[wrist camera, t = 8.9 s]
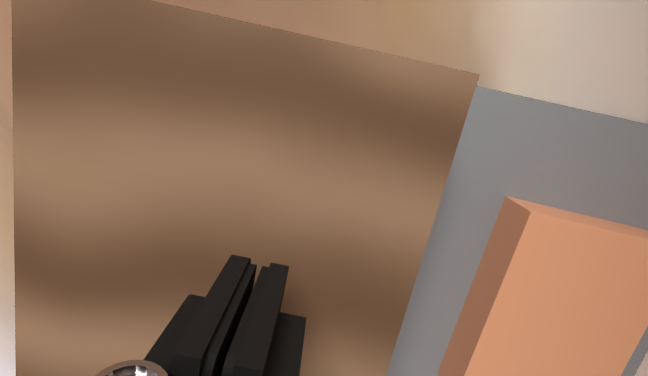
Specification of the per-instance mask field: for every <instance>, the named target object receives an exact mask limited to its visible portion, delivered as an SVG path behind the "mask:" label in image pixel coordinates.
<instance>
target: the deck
mask: <svg viewBox="0 0 648 376" xmlns="http://www.w3.org/2000/svg"><path fill="white" fill-rule="evenodd" d="M479 75H480V74H475V73H471V72H466V71H462V70H457V69H453V68H448V67H444V66H440V65H435V64H431V63H426V62H422V61H417V60H413V59H409V58H404V57H400V56H395V55H391V54H386V53H382V52H377V51H373V50H369V49H364V48H360V47H355V46H351V45H346V44H342V43H337V42H333V41H329V40H324V39H320V38H315V37H311V36H306V35H302V34H298V33H293V32H289V31H284V30H280V29H275V28H271V27H266V26H262V25H258V24H253V23H249V22H244V21H240V20H235V19H231V18H227V17H222V16H218V15H213V14H209V13H204V12H200V11H195V10H191V9H187V8H182V7H178V6H173V5H169V4H164V3H160V2H155V1H151V0H12V78H13V165H14V251H15V338H16V376H95V375H96V374H98V373H99V372H100V371H102V370H103V369H105V368H107V367H109V366H111V365H113V364H115V363H119V362H123V361H127V360H144V358H145V357H146V355H147V354H148V352H149V351H150V349H151V348H152V347H153V345H154V344H155V342H156V341H157V339H158V338H159V336H160V335H161V334H162V332H163V331H164V329H165V328H166V326H167V325H168V324H169V322H170V321H171V319H172V318H173V316H174V315H175V313H176V312H177V311H178V309H179V308H180V306H181V305H182V303H183V302H184V300H185V299H186V298H187V297H188V295H190V294H193V295H198V296H203V297H206V295H207V294H208V292H209V290H210V289H211V287H212V285H213V284H214V282H215V281H216V279H217V277H218V276H219V274H220V272H221V271H222V269H223V267H224V266H225V264H226V262H227V261H228V259H229V257H230V256H231V255H237V256H242V257H247V258H251V264H256V265H257V269H256V275H255V280H254V285H255V283H256V280H257V278H258V275H259V273H260V270H261V268H262V266H266V267H269V266H270V263H271V262H272V263H276V264H281V265H286V266H289V271H288V276H287V281H286V286H285V291H284V295H283V300H282V305H281V310H280V312H282V313H287V314H292V315H297V316H302V317H306V326H305V334H304V342H303V350H302V359H301V367H300V375H299V376H386V374H387V371H388V367H389V364H390V361H391V358H392V355H393V351H394V348H395V345H396V342H397V338H398V335H399V332H400V329H401V326H402V322H403V319H404V316H405V313H406V310H407V306H408V303H409V300H410V297H411V293H412V290H413V287H414V284H415V281H416V277H417V274H418V271H419V268H420V265H421V261H422V258H423V255H424V252H425V248H426V245H427V242H428V239H429V236H430V232H431V229H432V226H433V223H434V220H435V216H436V213H437V210H438V207H439V204H440V200H441V197H442V194H443V191H444V187H445V184H446V181H447V178H448V175H449V171H450V168H451V165H452V162H453V159H454V155H455V152H456V149H457V146H458V142H459V139H460V136H461V133H462V130H463V126H464V123H465V120H466V117H467V114H468V110H469V107H470V104H471V101H472V97H473V94H474V91H475V88H476V85H477V81H478V78H479ZM253 288H254V286H253Z"/></svg>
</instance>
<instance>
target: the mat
mask: <svg viewBox="0 0 648 376" xmlns="http://www.w3.org/2000/svg"><path fill="white" fill-rule="evenodd" d="M505 196H507V197H512V198H516V199H520V200H524V201H528V202H533V203H537V204H541V205H545V206H549V207H554V208H558V209H562V210H566V211H570V212H574V213H579V214H583V215H587V216H591V217H595V218H600V219H604V220H608V221H612V222H616V223H620V224H625V225H629V226H633V227H637V228H641V229H645V230H647V231H648V124H643V123H639V122H634V121H630V120H626V119H621V118H617V117H612V116H608V115H603V114H599V113H594V112H590V111H585V110H581V109H576V108H572V107H568V106H563V105H559V104H554V103H550V102H545V101H541V100H536V99H532V98H527V97H523V96H518V95H514V94H510V93H505V92H501V91H496V90H492V89H487V88H483V87H478V86H476V88H475V91H474V94H473V97H472V101H471V104H470V107H469V110H468V114H467V117H466V120H465V123H464V126H463V130H462V133H461V136H460V139H459V142H458V146H457V149H456V152H455V155H454V159H453V162H452V165H451V168H450V171H449V175H448V178H447V181H446V184H445V187H444V191H443V194H442V197H441V200H440V204H439V207H438V210H437V213H436V216H435V220H434V223H433V226H432V229H431V232H430V236H429V239H428V242H427V245H426V248H425V252H424V255H423V258H422V261H421V265H420V268H419V271H418V274H417V277H416V281H415V284H414V287H413V290H412V293H411V297H410V300H409V303H408V306H407V310H406V313H405V316H404V319H403V322H402V326H401V329H400V332H399V335H398V338H397V342H396V345H395V348H394V351H393V355H392V358H391V361H390V364H389V367H388V371H387V374H386V376H437V373H438V370H439V368H440V365H441V362H442V360H443V357H444V355H445V352H446V349H447V347H448V344H449V342H450V339H451V336H452V334H453V331H454V329H455V326H456V323H457V321H458V318H459V316H460V313H461V310H462V308H463V305H464V303H465V300H466V297H467V295H468V292H469V290H470V287H471V284H472V282H473V279H474V277H475V274H476V271H477V269H478V266H479V264H480V261H481V258H482V256H483V253H484V251H485V248H486V245H487V243H488V240H489V238H490V235H491V232H492V230H493V227H494V225H495V222H496V219H497V217H498V214H499V212H500V209H501V206H502V204H503V201H504V199H505ZM647 350H648V326H647V328H646V330H645V332H644V334H643V336H642V337H641V339H640V341H639V343H638V345H637V347H636V348H635V350H634V352H633V354H632V356H631V358H630V359H629V361H628V363H627V365H626V367H625V369H624V370H623V372H622V374H621V376H634V375H635V373H636V371H637V369H638V367H639V365H640V364H641V362H642V360H643V358H644V356H645V354H646V352H647Z"/></svg>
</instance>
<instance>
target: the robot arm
mask: <svg viewBox="0 0 648 376" xmlns="http://www.w3.org/2000/svg"><path fill="white" fill-rule="evenodd" d="M256 269H257V265H256V264H251V258H247V257H242V256H237V255H231V256H230V257H229V259H228V261H227V262H226V264H225V266H224V267H223V269H222V271H221V272H220V274H219V276H218V277H217V279H216V281H215V282H214V284H213V285H212V287H211V289H210V290H209V292H208V294H207V295H206V297H203V296H198V295H193V294H190V295H188V297H187V298H186V299H185V300H184V302H183V303H182V305H181V306H180V308H179V309H178V311H177V312H176V313H175V315H174V316H173V318H172V319H171V321H170V322H169V324H168V325H167V326H166V328H165V329H164V331H163V332H162V334H161V335H160V336H159V338H158V339H157V341H156V342H155V344H154V345H153V347H152V348H151V349H150V351H149V352H148V354H147V355H146V357H145V358H144V360H127V361H123V362H119V363H115V364H113V365H111V366H109V367H107V368H105V369H103V370H102V371H100V372H99V373H98V374H96V375H95V376H299V375H300V367H301V359H302V350H303V342H304V334H305V326H306V317H302V316H297V315H292V314H287V313H282V312H280V310H281V305H282V300H283V295H284V291H285V286H286V281H287V276H288V271H289V266H286V265H281V264H276V263H272V262H271V263H270V266H269V267H266V266H262V268H261V270H260V273H259V275H258V278H257V280H256V283H255V285H254V280H255V275H256ZM253 286H254V288H253Z"/></svg>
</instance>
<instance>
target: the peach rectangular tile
mask: <svg viewBox="0 0 648 376" xmlns="http://www.w3.org/2000/svg"><path fill="white" fill-rule="evenodd" d="M647 326H648V231H647V230H645V229H641V228H637V227H633V226H629V225H625V224H620V223H616V222H612V221H608V220H604V219H600V218H595V217H591V216H587V215H583V214H579V213H574V212H570V211H566V210H562V209H558V208H554V207H549V206H545V205H541V204H537V203H533V202H528V201H524V200H520V199H516V198H512V197H507V196H505V199H504V201H503V204H502V206H501V209H500V212H499V214H498V217H497V219H496V222H495V225H494V227H493V230H492V232H491V235H490V238H489V240H488V243H487V245H486V248H485V251H484V253H483V256H482V258H481V261H480V264H479V266H478V269H477V271H476V274H475V277H474V279H473V282H472V284H471V287H470V290H469V292H468V295H467V297H466V300H465V303H464V305H463V308H462V310H461V313H460V316H459V318H458V321H457V323H456V326H455V329H454V331H453V334H452V336H451V339H450V342H449V344H448V347H447V349H446V352H445V355H444V357H443V360H442V362H441V365H440V368H439V370H438V373H437V376H621V374H622V372H623V370H624V369H625V367H626V365H627V363H628V361H629V359H630V358H631V356H632V354H633V352H634V350H635V348H636V347H637V345H638V343H639V341H640V339H641V337H642V336H643V334H644V332H645V330H646V328H647Z"/></svg>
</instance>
